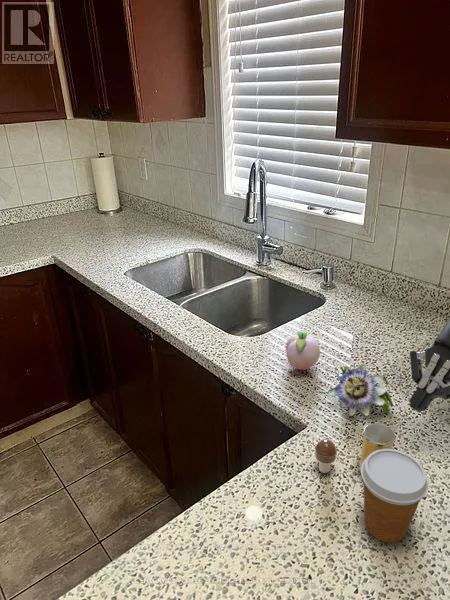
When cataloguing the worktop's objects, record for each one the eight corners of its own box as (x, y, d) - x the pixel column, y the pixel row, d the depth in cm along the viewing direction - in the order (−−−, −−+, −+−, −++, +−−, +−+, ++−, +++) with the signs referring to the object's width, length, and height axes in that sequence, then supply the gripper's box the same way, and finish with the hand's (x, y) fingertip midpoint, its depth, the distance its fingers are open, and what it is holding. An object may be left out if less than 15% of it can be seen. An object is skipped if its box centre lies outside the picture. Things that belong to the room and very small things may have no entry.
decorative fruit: (321, 379, 107) (323, 343, 103) (286, 379, 107) (287, 343, 103) (316, 357, 115) (318, 324, 111) (284, 357, 116) (285, 323, 112)
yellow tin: (390, 466, 82) (397, 428, 78) (385, 487, 78) (392, 448, 74) (362, 457, 85) (367, 420, 81) (355, 476, 80) (360, 438, 76)
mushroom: (337, 465, 83) (340, 438, 80) (331, 480, 80) (334, 452, 77) (317, 458, 85) (319, 431, 82) (311, 472, 82) (312, 445, 79)
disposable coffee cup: (352, 496, 77) (358, 443, 71) (410, 503, 75) (421, 449, 70) (357, 548, 68) (365, 492, 63) (423, 557, 67) (437, 500, 61)
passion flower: (350, 433, 98) (319, 396, 94) (357, 397, 106) (329, 361, 102) (398, 425, 91) (367, 384, 87) (402, 386, 99) (374, 348, 95)
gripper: (509, 355, 79) (453, 436, 79) (441, 325, 89) (392, 396, 89) (499, 338, 74) (440, 424, 74) (429, 309, 84) (377, 384, 84)
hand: (414, 409), depth 81 cm, fingers closed
